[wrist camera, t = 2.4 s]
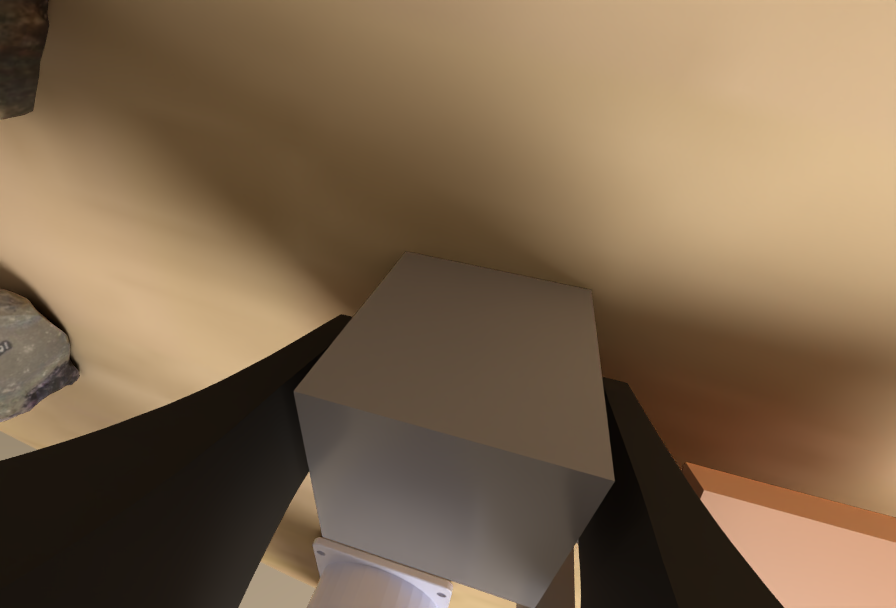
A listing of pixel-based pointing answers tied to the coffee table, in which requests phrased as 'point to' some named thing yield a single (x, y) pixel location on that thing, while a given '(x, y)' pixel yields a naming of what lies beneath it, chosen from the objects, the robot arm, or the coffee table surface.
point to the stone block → (21, 53)
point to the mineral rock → (30, 356)
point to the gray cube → (461, 425)
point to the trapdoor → (803, 541)
